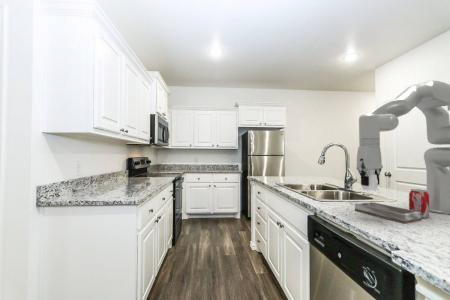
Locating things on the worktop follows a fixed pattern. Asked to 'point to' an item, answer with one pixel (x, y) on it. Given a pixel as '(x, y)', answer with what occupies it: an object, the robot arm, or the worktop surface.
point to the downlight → (371, 181)
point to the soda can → (419, 201)
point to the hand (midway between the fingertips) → (370, 184)
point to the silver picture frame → (389, 212)
